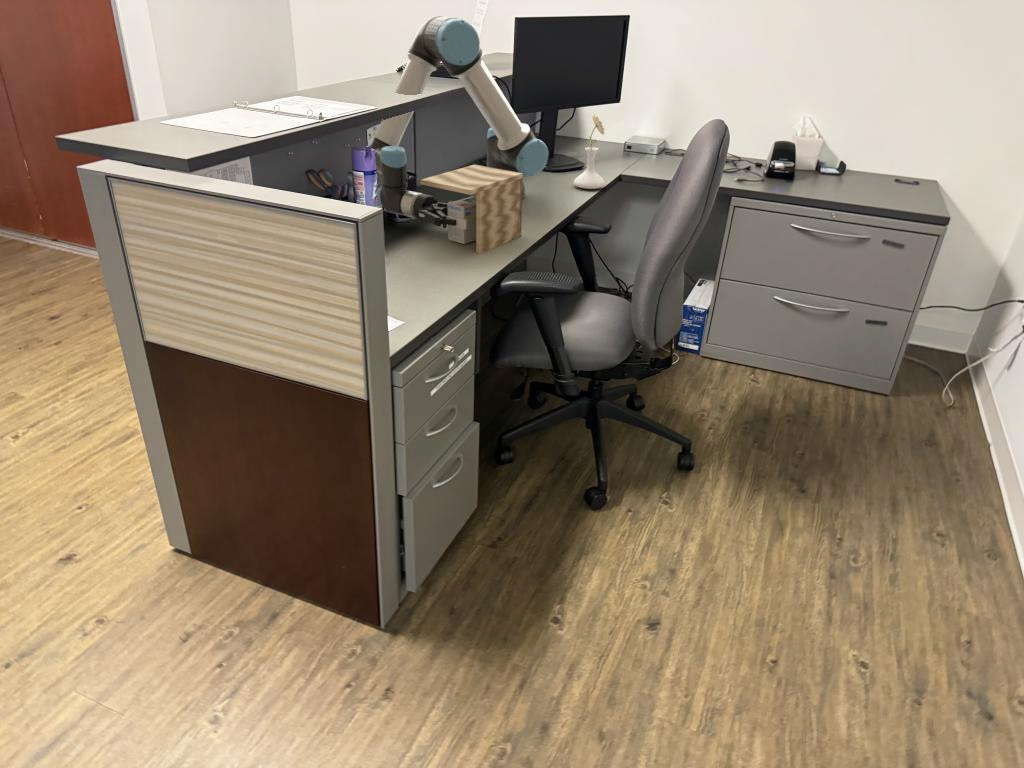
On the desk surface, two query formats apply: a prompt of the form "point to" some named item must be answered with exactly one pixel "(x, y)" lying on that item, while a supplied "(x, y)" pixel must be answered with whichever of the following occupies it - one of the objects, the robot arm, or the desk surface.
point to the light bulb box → (466, 211)
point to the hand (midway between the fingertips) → (479, 219)
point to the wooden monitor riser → (488, 201)
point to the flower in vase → (591, 164)
